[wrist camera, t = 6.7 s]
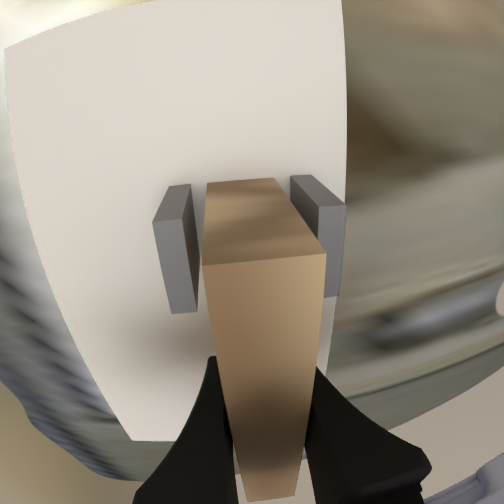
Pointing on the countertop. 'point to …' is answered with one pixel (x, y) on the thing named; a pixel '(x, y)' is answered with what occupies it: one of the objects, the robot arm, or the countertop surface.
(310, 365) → the door panel
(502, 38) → the countertop surface
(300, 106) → the board
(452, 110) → the countertop surface
